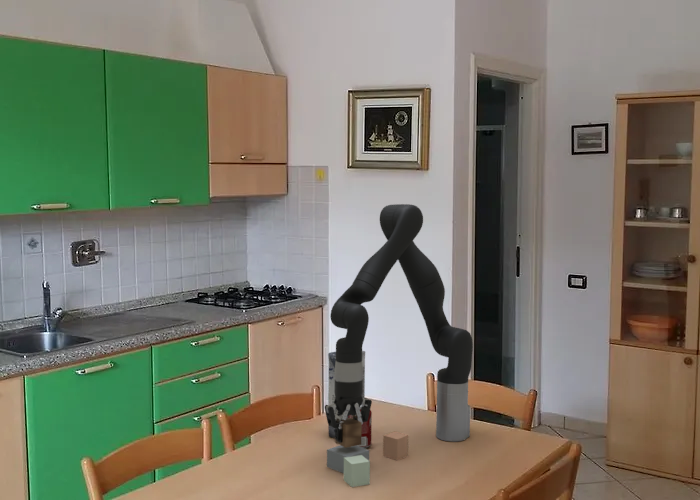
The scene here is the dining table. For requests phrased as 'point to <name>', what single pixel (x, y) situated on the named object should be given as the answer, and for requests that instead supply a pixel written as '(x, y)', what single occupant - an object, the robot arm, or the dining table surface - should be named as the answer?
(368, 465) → the pale green block
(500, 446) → the dining table surface
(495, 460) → the dining table surface
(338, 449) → the grey base block
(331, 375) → the juice carton
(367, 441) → the soda can
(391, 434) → the tan block
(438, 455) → the dining table surface
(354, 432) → the walnut block
